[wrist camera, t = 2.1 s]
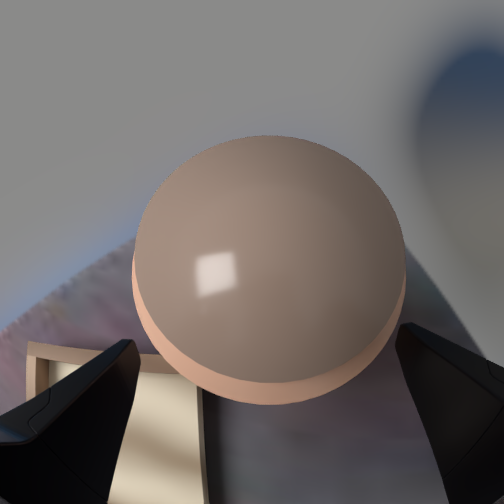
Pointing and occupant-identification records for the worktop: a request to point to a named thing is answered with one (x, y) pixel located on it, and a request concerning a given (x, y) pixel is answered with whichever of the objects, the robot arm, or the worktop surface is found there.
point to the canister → (269, 270)
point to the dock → (143, 427)
